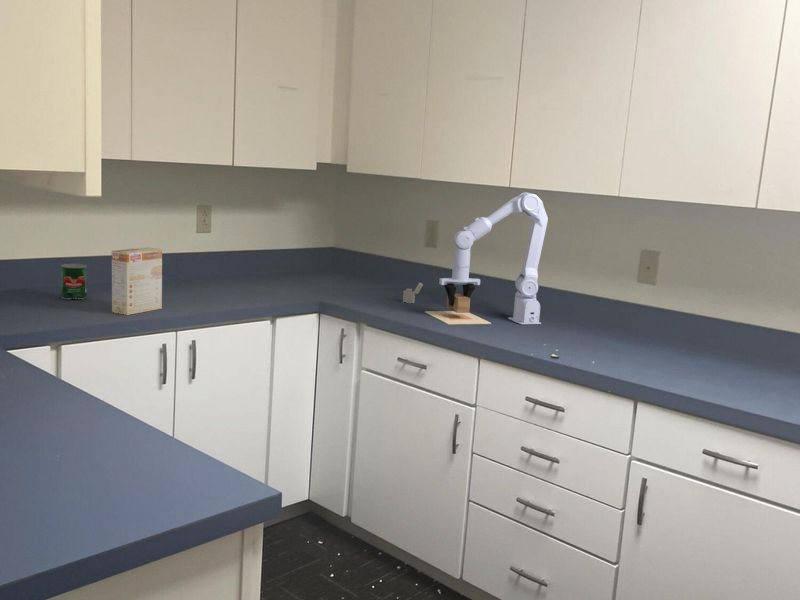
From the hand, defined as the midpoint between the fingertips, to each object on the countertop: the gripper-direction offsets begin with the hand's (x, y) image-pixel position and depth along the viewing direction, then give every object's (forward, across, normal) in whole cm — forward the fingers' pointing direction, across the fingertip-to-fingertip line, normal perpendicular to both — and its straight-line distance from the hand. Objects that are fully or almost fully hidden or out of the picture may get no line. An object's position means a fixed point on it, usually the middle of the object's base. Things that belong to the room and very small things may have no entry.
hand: (458, 305), depth 275 cm
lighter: (+5, +6, -27) cm, 28 cm away
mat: (+4, 0, 0) cm, 4 cm away
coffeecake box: (+5, +104, -17) cm, 105 cm away
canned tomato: (+5, +123, -39) cm, 129 cm away
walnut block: (+2, 0, 0) cm, 2 cm away
